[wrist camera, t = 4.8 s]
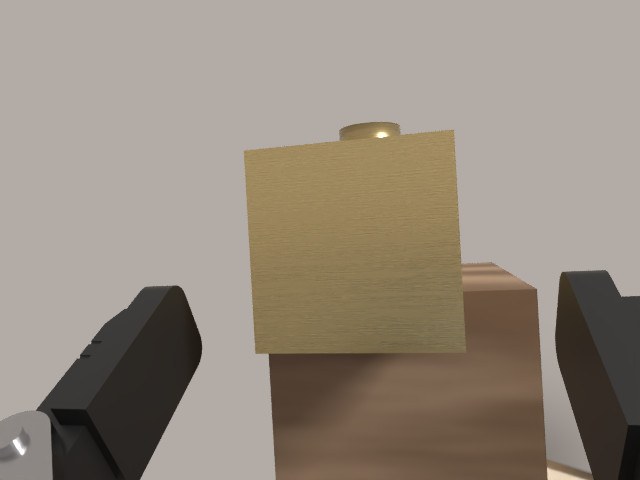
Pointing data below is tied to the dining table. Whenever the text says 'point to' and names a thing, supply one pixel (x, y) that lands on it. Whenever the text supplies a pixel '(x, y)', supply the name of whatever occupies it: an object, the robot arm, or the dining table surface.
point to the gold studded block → (356, 244)
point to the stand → (421, 400)
